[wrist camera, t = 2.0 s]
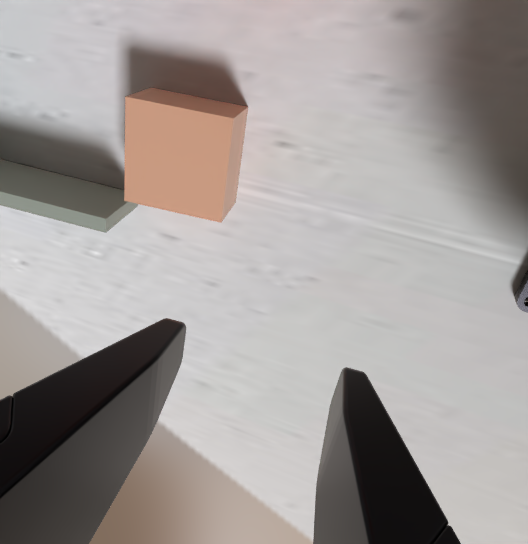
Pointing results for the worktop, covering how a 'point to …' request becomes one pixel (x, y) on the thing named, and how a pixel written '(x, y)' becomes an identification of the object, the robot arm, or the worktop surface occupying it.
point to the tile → (183, 152)
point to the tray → (62, 197)
